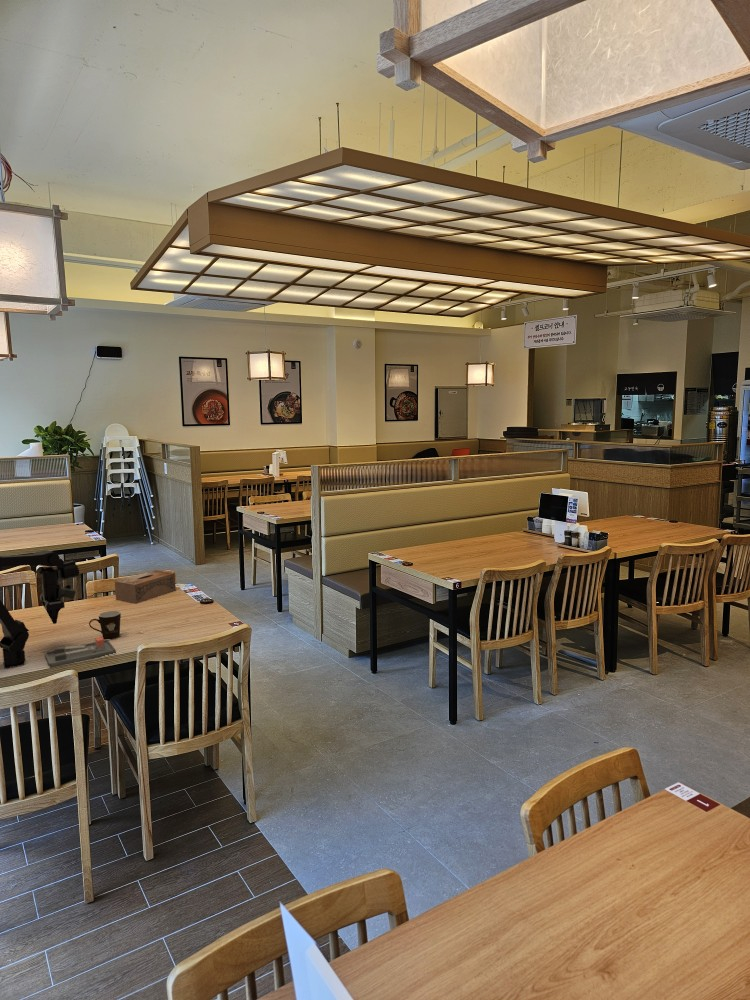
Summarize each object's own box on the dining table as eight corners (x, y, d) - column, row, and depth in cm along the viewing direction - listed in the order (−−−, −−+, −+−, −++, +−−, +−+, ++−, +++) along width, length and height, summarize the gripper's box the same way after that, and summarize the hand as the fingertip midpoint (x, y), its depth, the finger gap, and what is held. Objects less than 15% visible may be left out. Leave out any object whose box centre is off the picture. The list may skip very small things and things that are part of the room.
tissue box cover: (156, 588, 336) (155, 569, 335) (175, 591, 329) (174, 572, 328) (116, 600, 314) (114, 581, 313) (135, 604, 307) (134, 584, 305)
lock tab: (97, 646, 241) (97, 640, 241) (95, 644, 244) (95, 638, 244) (104, 645, 242) (103, 639, 242) (102, 642, 245) (101, 636, 245)
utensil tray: (49, 668, 229) (49, 663, 228) (44, 656, 240) (44, 652, 240) (116, 653, 242) (115, 649, 241) (108, 643, 253) (107, 639, 253)
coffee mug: (125, 633, 265) (123, 610, 264) (117, 640, 256) (116, 616, 255) (97, 633, 265) (96, 611, 263) (89, 641, 256) (87, 617, 255)
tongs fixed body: (55, 661, 233) (55, 656, 232) (54, 658, 236) (53, 652, 236) (105, 651, 243) (105, 645, 242) (103, 647, 246) (103, 642, 246)
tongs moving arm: (54, 654, 239) (54, 649, 239) (56, 652, 241) (55, 647, 241) (84, 652, 241) (84, 647, 241) (86, 650, 243) (85, 645, 243)
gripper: (77, 584, 239) (80, 623, 241) (69, 574, 254) (72, 611, 256) (44, 589, 232) (48, 629, 235) (38, 579, 248) (41, 617, 250)
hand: (53, 621), depth 244 cm, fingers open, 6 cm apart
